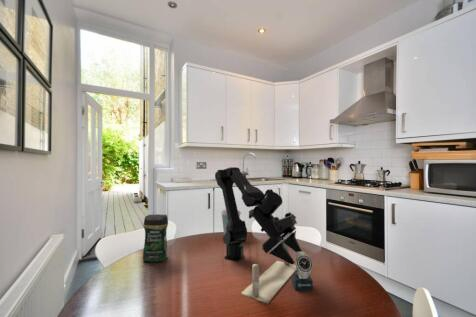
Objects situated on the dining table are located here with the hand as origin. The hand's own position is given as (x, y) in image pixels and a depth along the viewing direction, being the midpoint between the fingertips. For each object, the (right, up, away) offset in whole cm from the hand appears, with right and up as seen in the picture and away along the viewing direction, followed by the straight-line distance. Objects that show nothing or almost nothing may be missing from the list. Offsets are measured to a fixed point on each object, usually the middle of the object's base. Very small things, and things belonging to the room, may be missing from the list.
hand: (297, 258), depth 77 cm
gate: (-7, -9, +4) cm, 13 cm away
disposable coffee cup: (-24, -10, +51) cm, 57 cm away
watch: (+1, -9, -1) cm, 9 cm away
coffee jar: (-54, -10, +21) cm, 59 cm away
